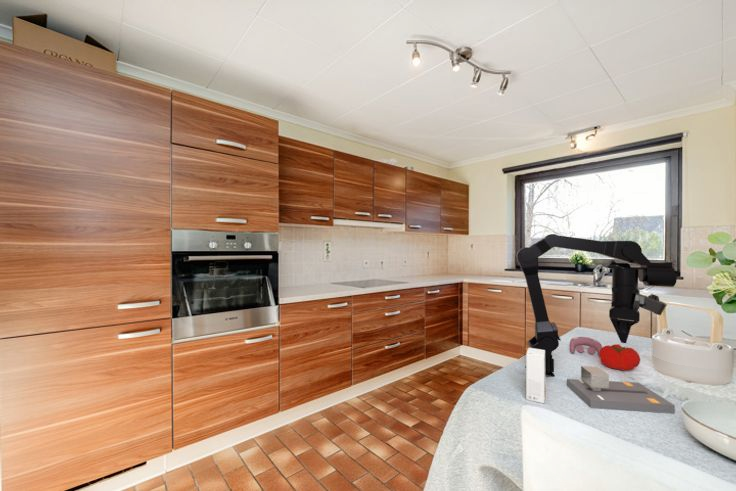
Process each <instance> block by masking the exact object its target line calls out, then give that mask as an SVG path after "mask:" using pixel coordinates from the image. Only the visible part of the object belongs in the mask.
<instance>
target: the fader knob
mask: <svg viewBox="0 0 736 491" xmlns="http://www.w3.org/2000/svg"><path fill="white" fill-rule="evenodd" d="M580 380H583V381H584V382H586V383H587V384H588V387H589V388H590V389H591V390H592V391H601V388H609V381H610V374H609V373H607V372H605V371H604V370H603V369H602V368H600V367H598V366H592V365H591V366H588V365H580Z"/></svg>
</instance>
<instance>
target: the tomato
mask: <svg viewBox="0 0 736 491" xmlns="http://www.w3.org/2000/svg"><path fill="white" fill-rule="evenodd" d="M599 356H600V357H599ZM598 357H599V359H600V362H601V363H602V364H603V365H604V366H605V367H607V368H609V369H613V370H620V371H631V370H633V369H635V368H636V367H638V366H639V365H640V363H641V357H640V354H639V353H638V351H636V350H635V349H634V348H632V347H626V346H622V345H620V344H617V343H616V344H611V345H608V344H607V345H605V346H602V348H601V350H600V352H599V355H598Z"/></svg>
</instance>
